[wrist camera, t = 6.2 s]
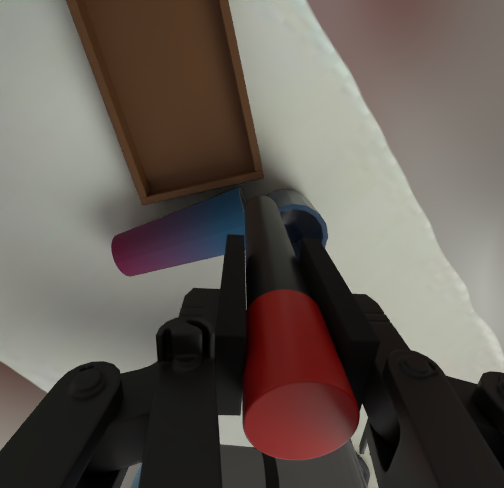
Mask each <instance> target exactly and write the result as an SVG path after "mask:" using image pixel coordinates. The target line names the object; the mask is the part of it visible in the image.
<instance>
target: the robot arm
mask: <svg viewBox="0 0 504 488" xmlns="http://www.w3.org/2000/svg"><path fill="white" fill-rule="evenodd" d="M298 264H299V267H300V269H301V272H302V275H303V277H304V280H305V283H306V286H307V288H308V291H309V294H310V296H311V298H312V299H313V300H314V301H315V302H316V303H317V305H318V306H319V308H320V310H321V312H322V315H323V317H324V320H325V323H326V325H327V328H328V330H329V333H330V335H331V338H332V340H333V343H334V345H335V348H336V350H337V353H338V355H339V358H340V360H341V363H342V366H343V368H344V371H345V373H346V376H347V378H348V381H349V383H350V386H351V388H352V391H353V393H354V396H355V398H356V401H357V403H358V406H359V411H360V409H361V405H362V404H363V406H364V408H365V411H366V413H367V416H368V420H367V423H366V426H365V429H364V432H363V436H362V439H361V442H360V445H359V451H360V454H364V452H365V449H366V446H367V443H368V446H369V450H370V455H371V458H372V462H373V466H374V470H375V474H376V478H377V482H378V486H379V488H504V373H501V372H491V371H490V372H487V373H483V375H482V377H481V379H480V381H479V383H478V384H474V383H470V382H467V381H463V380H459V379H456V378H452V377H448V376H446V375H445V374H444V372H443V371H442V370H441V368H440V367H439V366H438V365H437V364H436V363H435V362H434V361H432V360H431V359H429V358H428V357H427V356H425V355H422V354H420V353H418V352H416V351H411V350H410V349H409V347H408V346H407V344H406V343H405V342H404V340H403V339H402V337H401V336H400V335H399V333H398V332H397V330H396V329H395V327H394V326H393V325H392V323H390V320H389V319H388V318H387V316H386V315H385V314H384V312H383V310H382V309H381V308H380V306H379V305H378V303H377V302H375V301H374V300H373V299H371V298H370V297H369V296H367V295H366V294H352V293H351V291H350V290H349V288H348V286H347V285H346V283H345V281H344V280H343V278H342V276H341V275H340V273H339V271H338V270H337V268H336V266H335V265H334V263H333V261H332V260H331V258H330V256H329V255H328V253H327V251H326V250H325V248H324V246H323V245H322V243H321V241H320V240H319V239H310V238H302V242H301V249H300V256H299V263H298ZM156 343H157V358H158V361H157V362H156V363H154V364H152V365H150V366H148V367H145V368H142V369H139V370H135V371H130V372H126V373H121V374H120V370H119V369H118V368H117V367H116V366H115V365H114V364H111V363H108V362H104V361H103V362H90V363H87V364H83V365H80V366H78V367H76V368H74V369H72V370H71V371H69V372H67V373H66V374H65V375H64V376H63V377H62V378H61V379H60V380H59V381H58V382H57V383H56V384H55V385H54V386H53V388H52V389H51V390H50V391H49V393H48V394H47V395H46V396H45V397H44V399H43V400H42V401H41V402H40V403H39V405H38V406H37V407H36V408H35V410H34V411H33V412H32V413H31V414H30V416H29V417H28V418H27V419H26V420H25V422H24V423H23V424H22V425H21V426H20V428H19V429H18V430H17V432H16V433H15V434H14V435H13V436H12V437H11V439H10V440H9V441H8V442H7V443H6V445H5V446H4V447H3V448H2V449H1V451H0V488H120V486H121V484H122V482H123V479H124V477H125V475H126V472H127V470H128V467H129V466H132V465H135V464H138V463H141V464H140V467H139V469H138V471H137V473H136V475H135V478H134V480H133V483H132V485H131V488H368V487H367V486H368V482H369V477H370V473H369V469H368V467H367V465H366V463H365V462H364V461H363V459H362V458H361V457H359V456H358V455H357V454H356V453H355V450H354V447H353V444H352V442H351V439H349V440H348V441H347V442H346V443H345V444H344V445H342V446H341V447H339V448H338V449H336V450H334V451H332V452H330V453H328V454H326V455H323V456H320V457H316V458H312V459H305V460H286V459H279V458H275V457H272V456H269V455H267V454H265V453H263V452H261V451H259V450H258V449H257V448H255V447H244V446H232V445H221V444H220V439H219V424H218V415H240V414H241V401H242V388H243V372H244V362H245V349H246V289H245V240H244V235H234V234H227V239H226V247H225V255H224V264H223V272H222V280H221V288H220V289H205V288H193V289H192V290H191V291H190V292H189V293H188V294H187V295H185V297H184V301H183V304H182V308H181V310H180V314H179V317H178V318H174V319H172V320H170V321H167V322H166V323H165V324H164V325H162V326H161V327H160V328H159V330H158V332H157V334H156ZM360 465H361V467H362V468H363V470H364V476H363V473H362V470H361V467H360Z"/></svg>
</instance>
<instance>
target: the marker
mask: <svg viewBox="0 0 504 488" xmlns="http://www.w3.org/2000/svg"><path fill="white" fill-rule="evenodd" d="M244 213H245V256H246V298H247V310H246V349H245V362H244V372H243V429H244V432H245V435H246V437H247V439H248V440H249V442H250V443H251V444H252V445H253V446H254V447H255V448H257V449H258V450H259V451H261V452H263V453H265V454H267V455H269V456H272V457H275V458H279V459H286V460H305V459H312V458H316V457H320V456H323V455H326V454H328V453H330V452H332V451H334V450H336V449H338V448H339V447H341V446H342V445H344V444H345V443H346V442H347V441H348V440H349V439H350V438H351V437H352V435H353V434H354V432H355V431H356V429H357V426H358V424H359V418H360V411H359V406H358V403H357V401H356V398H355V396H354V393H353V391H352V388H351V386H350V383H349V381H348V378H347V376H346V373H345V371H344V368H343V366H342V363H341V360H340V358H339V355H338V353H337V350H336V348H335V345H334V343H333V340H332V338H331V335H330V333H329V330H328V328H327V325H326V323H325V320H324V317H323V315H322V312H321V310H320V308H319V306H318V305H317V303H316V302H315V301H314V300H313V299H312V298H311V296H310V294H309V291H308V288H307V286H306V283H305V280H304V277H303V275H302V272H301V269H300V267H299V264H298V261H297V258H296V256H295V253H294V250H293V248H292V245H291V242H290V240H289V237H288V234H287V231H286V229H285V226H284V223H283V221H282V218H281V215H280V213H279V210H278V207H277V205H276V203H275V202H274V200H272V199H271V198H269V197H267V196H256V197H254V198H252V199H251V200H249V201H248V203H247V204H246V206H245V211H244Z"/></svg>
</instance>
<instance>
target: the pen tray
mask: <svg viewBox="0 0 504 488" xmlns="http://www.w3.org/2000/svg"><path fill="white" fill-rule="evenodd" d="M66 1H67V4H68V6H69V9H70V12H71V15H72V17H73V20H74V23H75V25H76V28H77V31H78V33H79V36H80V39H81V41H82V44H83V47H84V49H85V52H86V55H87V58H88V60H89V63H90V66H91V68H92V71H93V74H94V76H95V79H96V82H97V84H98V87H99V90H100V92H101V95H102V98H103V101H104V103H105V106H106V109H107V111H108V114H109V117H110V119H111V122H112V125H113V127H114V130H115V133H116V135H117V138H118V141H119V144H120V146H121V149H122V152H123V154H124V157H125V160H126V162H127V165H128V168H129V170H130V173H131V176H132V178H133V181H134V184H135V187H136V189H137V192H138V195H139V197H140V200H141V203H142V205H147V204H151V203H155V202H160V201H164V200H168V199H173V198H177V197H182V196H186V195H190V194H195V193H199V192H204V191H208V190H212V189H217V188H221V187H225V186H230V185H234V184H239V183H243V182H247V181H252V180H256V179H261V178H264V173H263V168H262V164H261V159H260V154H259V149H258V144H257V139H256V134H255V129H254V124H253V119H252V115H251V110H250V105H249V100H248V95H247V90H246V85H245V80H244V75H243V70H242V66H241V61H240V56H239V51H238V46H237V41H236V36H235V31H234V26H233V21H232V16H231V12H230V7H229V2H228V0H66Z"/></svg>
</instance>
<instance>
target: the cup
mask: <svg viewBox="0 0 504 488" xmlns="http://www.w3.org/2000/svg"><path fill="white" fill-rule="evenodd" d="M246 204H247V201H246V198H245V196H244V193H243V191H242V189H241V188H240V187H238V188H235V189H233V190H230V191H228V192H225V193H223V194H220V195H217V196H215V197H212V198H210V199H207V200H205V201H202V202H200V203H197V204H195V205H192V206H189V207H187V208H184V209H182V210H179V211H177V212H174V213H172V214H169V215H167V216H164V217H161V218H159V219H156V220H154V221H151V222H149V223H146V224H144V225H141V226H139V227H136V228H133V229H131V230H128V231H126V232H123V233H121V234H118V235H116V236H115V237H114V238H113V240H112V246H111V248H112V255H113V259H114V261H115V263H116V265H117V267H118V268H119V270H120V271H121V272H122V273H123V274H125V275H126V276H135V275H139V274H143V273H147V272H152V271H156V270H160V269H165V268H169V267H173V266H178V265H182V264H186V263H190V262H195V261H199V260H203V259H208V258H212V257H216V256H220V255H225V247H226V239H227V234H234V235H244V240H245V213H244V211H245V206H246Z"/></svg>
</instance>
